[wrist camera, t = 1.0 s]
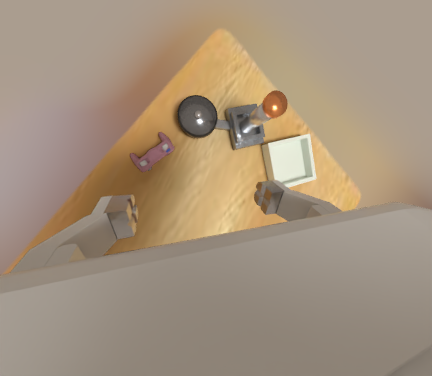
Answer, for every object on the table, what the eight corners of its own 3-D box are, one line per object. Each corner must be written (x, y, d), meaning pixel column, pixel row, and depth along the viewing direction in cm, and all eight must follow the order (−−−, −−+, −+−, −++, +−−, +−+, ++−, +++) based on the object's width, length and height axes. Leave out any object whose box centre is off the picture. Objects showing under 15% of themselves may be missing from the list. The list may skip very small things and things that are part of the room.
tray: (306, 178, 47) (316, 179, 44) (269, 189, 45) (276, 190, 42) (300, 136, 46) (309, 133, 42) (261, 145, 43) (267, 143, 40)
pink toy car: (142, 168, 39) (144, 178, 34) (127, 154, 36) (127, 163, 31) (172, 144, 40) (180, 151, 35) (161, 129, 37) (166, 133, 32)
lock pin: (255, 132, 40) (289, 113, 27) (240, 136, 39) (268, 117, 26) (252, 116, 39) (285, 89, 26) (237, 119, 39) (263, 92, 26)
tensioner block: (259, 144, 43) (266, 141, 39) (206, 156, 40) (209, 154, 37) (252, 107, 42) (259, 100, 38) (197, 117, 39) (198, 111, 35)
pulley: (217, 136, 41) (222, 131, 35) (183, 143, 39) (183, 139, 34) (209, 100, 39) (213, 89, 34) (173, 106, 38) (172, 95, 33)
